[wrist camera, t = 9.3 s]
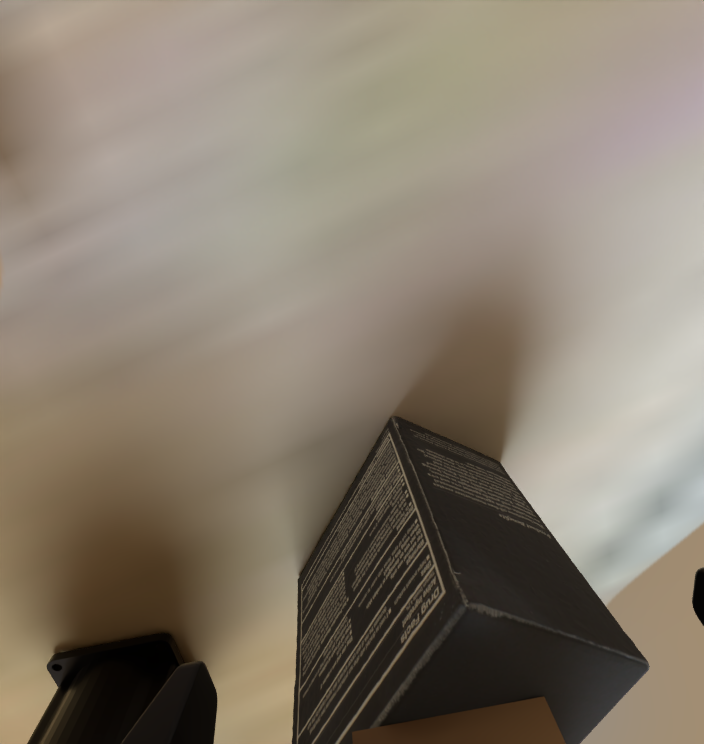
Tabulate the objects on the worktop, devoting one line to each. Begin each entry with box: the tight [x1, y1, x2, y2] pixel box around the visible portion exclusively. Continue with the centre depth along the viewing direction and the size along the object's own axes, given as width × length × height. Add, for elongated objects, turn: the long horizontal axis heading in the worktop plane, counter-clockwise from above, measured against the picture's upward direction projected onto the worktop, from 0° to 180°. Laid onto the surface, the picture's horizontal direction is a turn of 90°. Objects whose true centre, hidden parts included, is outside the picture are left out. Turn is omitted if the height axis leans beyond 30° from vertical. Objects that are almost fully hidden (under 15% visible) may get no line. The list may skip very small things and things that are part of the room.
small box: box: [292, 417, 650, 744], centre depth 17 cm, size 11×6×10 cm, turn 154°
